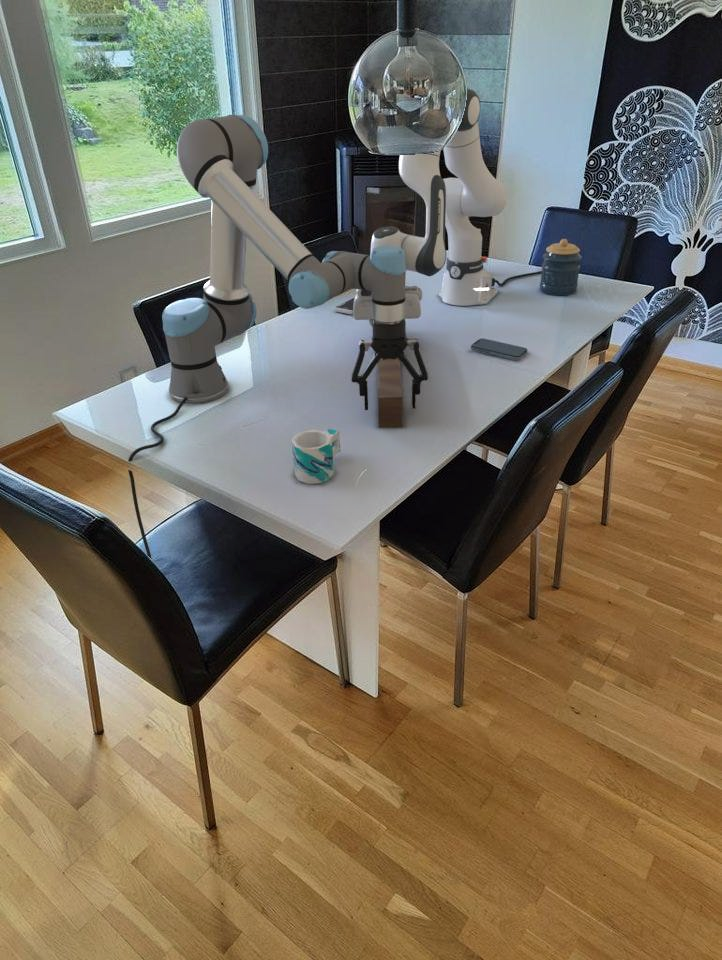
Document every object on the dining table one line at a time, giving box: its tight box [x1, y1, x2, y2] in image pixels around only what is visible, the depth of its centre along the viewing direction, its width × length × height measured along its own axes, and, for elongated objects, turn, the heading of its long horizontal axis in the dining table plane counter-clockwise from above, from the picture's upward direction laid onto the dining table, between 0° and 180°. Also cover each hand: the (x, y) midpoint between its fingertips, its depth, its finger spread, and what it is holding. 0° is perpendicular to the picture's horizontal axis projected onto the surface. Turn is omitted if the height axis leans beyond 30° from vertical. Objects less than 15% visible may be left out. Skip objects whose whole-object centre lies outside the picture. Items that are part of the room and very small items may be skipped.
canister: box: [539, 238, 582, 296], centre depth 234 cm, size 13×13×18 cm
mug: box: [291, 427, 341, 485], centre depth 140 cm, size 8×12×8 cm
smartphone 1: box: [334, 297, 355, 315], centre depth 231 cm, size 8×1×15 cm
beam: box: [377, 358, 403, 428], centre depth 182 cm, size 62×6×8 cm, turn 179°
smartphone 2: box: [470, 337, 528, 361], centre depth 193 cm, size 8×2×15 cm
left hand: (390, 406), depth 163 cm, fingers open, 11 cm apart
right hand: (387, 332), depth 202 cm, fingers closed on beam, 5 cm apart
